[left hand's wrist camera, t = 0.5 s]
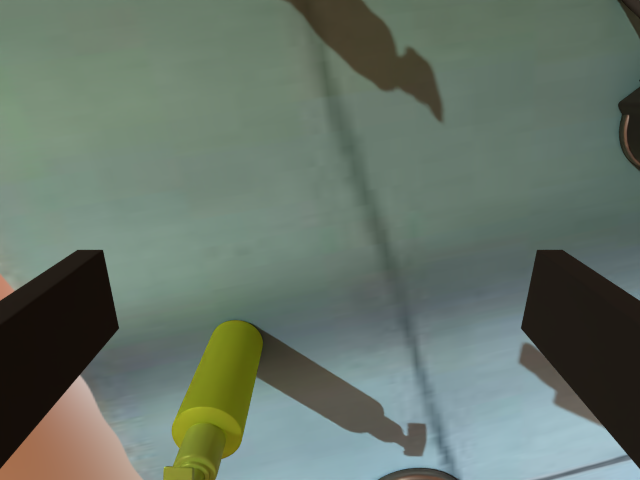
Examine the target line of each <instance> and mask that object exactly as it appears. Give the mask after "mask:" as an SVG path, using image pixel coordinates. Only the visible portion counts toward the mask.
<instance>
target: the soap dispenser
mask: <svg viewBox="0 0 640 480" xmlns="http://www.w3.org/2000/svg"><path fill="white" fill-rule="evenodd" d="M262 347H263V340H262V337H261V334H260V333H259V331H258V330H257V329H256V328H255V327H254V326H252V325H251V324H249V323H247V322H244V321H239V320H231V321H227V322H224V323H222V324H220V325H219V326H218V327H217V328H216V329H215V330H214V332H213V334H212V336H211V338H210V341H209V343H208V345H207V347H206V350H205V352H204V354H203V357H202V359H201V361H200V363H199V366H198V368H197V370H196V372H195V375H194V377H193V379H192V382H191V384H190V386H189V388H188V391H187V393H186V395H185V397H184V400H183V402H182V404H181V407H180V409H179V411H178V413H177V416H176V418H175V420H174V423H173V425H172V436H173V439H174V441H175V443H176V445H177V446H178V447H179V448H180V449H179V452H178V454H177V457H176V459H175V462H174V465H173V467H172V466H166V467H164V479H163V480H215V479H216V477H217V474H218V470H219V466H220V462H221V459H223V458H226V457H228V456H230V455H231V454H233V453H234V452H235V451H236V450H237V449H238V448H239V446H240V444H241V441H242V437H243V432H244V428H245V424H246V419H247V415H248V410H249V406H250V401H251V397H252V392H253V388H254V383H255V379H256V374H257V370H258V365H259V361H260V356H261V352H262Z"/></svg>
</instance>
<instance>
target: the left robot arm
mask: <svg viewBox="0 0 640 480" xmlns="http://www.w3.org/2000/svg"><path fill="white" fill-rule="evenodd" d="M118 329H119V326H118V321H117V316H116V311H115V306H114V302H113V297H112V292H111V287H110V282H109V277H108V272H107V267H106V262H105V258H104V253H103V250H77V251H75V252H74V253H72V254H71V255H69V256H68V257H66V258H65V259H63V260H62V261H60V262H59V263H57V264H55V265H54V266H52V267H51V268H49V269H48V270H46V271H45V272H43V273H42V274H40V275H39V276H37V277H36V278H34V279H33V280H31V281H30V282H28V283H27V284H25V285H24V286H22V287H20V288H19V289H17V290H16V291H14V292H13V293H11V294H10V295H8V296H7V297H5V298H4V299H2V300H1V301H0V468H1V467H2V466H3V465H4V464H5V462H6V461H7V460H8V459H9V458H10V457H11V455H12V454H13V453H14V452H15V451H16V450H17V448H18V447H19V446H20V445H21V444H22V442H23V441H24V440H25V439H26V438H27V436H28V435H29V434H30V433H31V432H32V431H33V429H34V428H35V427H36V426H37V425H38V424H39V422H40V421H41V420H42V419H43V418H44V416H45V415H46V414H47V413H48V412H49V410H50V409H51V408H52V407H53V406H54V405H55V403H56V402H57V401H58V400H59V399H60V397H61V396H62V395H63V394H64V393H65V392H66V390H67V389H68V388H69V387H70V386H71V384H72V383H73V382H74V381H75V380H76V379H77V377H78V376H79V375H80V374H81V373H82V371H83V370H84V369H85V368H86V367H87V366H88V364H89V363H90V362H91V361H92V360H93V358H94V357H95V356H96V355H97V354H98V353H99V351H100V350H101V349H102V348H103V347H104V345H105V344H106V343H107V342H108V341H109V340H110V338H111V337H112V336H113V335H114V334H115V332H116V331H117V330H118ZM521 329H522V330H523V331H524V332H525V334H526V335H527V336H528V337H529V338H530V340H531V341H532V342H533V343H534V344H535V345H536V347H537V348H538V349H539V350H540V351H541V353H542V354H543V355H544V356H545V357H546V358H547V360H548V361H549V362H550V363H551V364H552V366H553V367H554V368H555V369H556V370H557V371H558V373H559V374H560V375H561V376H562V377H563V379H564V380H565V381H566V382H567V383H568V384H569V386H570V387H571V388H572V389H573V390H574V392H575V393H576V394H577V395H578V396H579V397H580V399H581V400H582V401H583V402H584V403H585V405H586V406H587V407H588V408H589V409H590V410H591V412H592V413H593V414H594V415H595V416H596V418H597V419H598V420H599V421H600V422H601V424H602V425H603V426H604V427H605V428H606V429H607V431H608V432H609V433H610V434H611V435H612V437H613V438H614V439H615V440H616V441H617V442H618V444H619V445H620V446H621V447H622V448H623V450H624V451H625V452H626V453H627V454H628V455H629V457H630V458H631V459H632V460H633V461H634V463H635V464H636V465H637V466H638V467H639V468H640V301H639V300H638V299H636V298H635V297H633V296H632V295H630V294H629V293H627V292H626V291H624V290H623V289H621V288H620V287H618V286H616V285H615V284H613V283H612V282H610V281H609V280H607V279H606V278H604V277H603V276H601V275H600V274H598V273H597V272H595V271H594V270H592V269H591V268H589V267H588V266H586V265H585V264H583V263H581V262H580V261H578V260H577V259H575V258H574V257H572V256H571V255H569V254H568V253H566V252H565V251H563V250H537V253H536V258H535V262H534V267H533V272H532V277H531V282H530V287H529V292H528V297H527V302H526V306H525V311H524V316H523V321H522V326H521ZM378 480H456V479H454V478H453V477H451V476H450V475H447V474H445V473H443V472H440V471H436V470H431V469H422V468H415V469H405V470H400V471H396V472H393V473H390V474H388V475H386V476H384V477H382V478H380V479H378Z"/></svg>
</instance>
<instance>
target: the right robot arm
mask: <svg viewBox="0 0 640 480" xmlns="http://www.w3.org/2000/svg"><path fill="white" fill-rule="evenodd" d="M622 1H623V2H624V3H625V5H626V6H627V7H628V8H630V9H631V10H632V11H633V12H634V13H635V14H636V15H637V16H638V17H639V18H640V1H639V0H622ZM639 81H640V80H639ZM618 107H619V108H620V110H621V113H622V117H621V121H620V127H619V139H620V144H621V148H622V150H623V152H624V154H625V155H626V157H627V158H628V159H629V160H630V161H631V162H632V163H633V164H635V165H636V166H638V167H640V87H639V88H638V89H636V90H635V91H634V92H632V93H631V94H630V95H628V96H627V97H626V98H625V99H623V100H622V101H621V102H620V103H619V104H618Z"/></svg>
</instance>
